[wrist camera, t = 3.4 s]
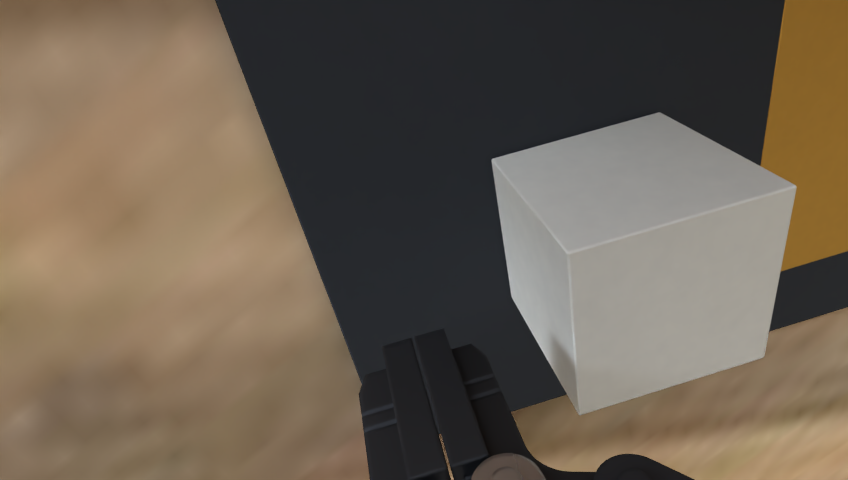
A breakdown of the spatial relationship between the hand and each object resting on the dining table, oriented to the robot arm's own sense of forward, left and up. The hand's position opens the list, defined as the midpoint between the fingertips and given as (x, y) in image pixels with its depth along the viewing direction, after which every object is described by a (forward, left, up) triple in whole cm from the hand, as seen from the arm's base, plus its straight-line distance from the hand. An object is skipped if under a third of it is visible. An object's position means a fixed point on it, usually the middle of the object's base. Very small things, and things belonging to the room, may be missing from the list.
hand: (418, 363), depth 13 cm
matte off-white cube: (0, +6, -4) cm, 7 cm away
